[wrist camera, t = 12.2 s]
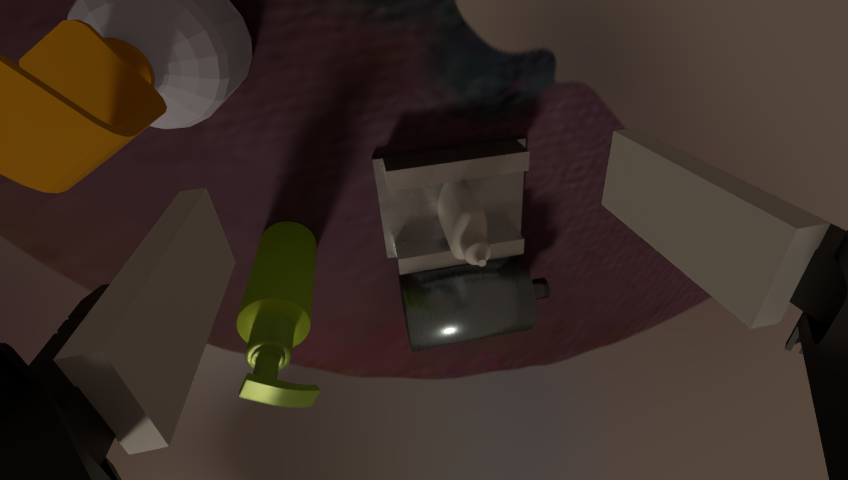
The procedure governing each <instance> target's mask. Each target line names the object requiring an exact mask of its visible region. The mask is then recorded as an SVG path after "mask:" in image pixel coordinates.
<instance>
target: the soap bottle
mask: <svg viewBox="0 0 848 480" xmlns="http://www.w3.org/2000/svg"><path fill="white" fill-rule="evenodd" d="M252 58H253V57H252V44H251V36H250V34H249V31H248V29H247V27H246V24H245V22H244V19H243V17H242V15H241V14H240V13H239V12H238V10H237V9H236V8H235V7H234V6H233V4H232V3H231V2H230V1H229V0H76V1H75V3H74V4H73V6H72V7H71V9H70V11H69V14H68V20H63V21H62V22H61V23H60V24H59V25H58V26H56V27H55V28H54V29H53V30H52V31H51V32H50V33H49V34H48V35H46V36H45V37H44V38H43V39H42V40H41V41H40V42H39V43H38V44H36V45H35V46H34V47H33V48H32V49H31V50H30V51H29V52H28V53H26V54H25V55H24V56H23V57H22V58H21V59H20V60H19V66H18V65H16V64H15V63H13V62H12V61H10V60H9V59H7V58H6V57H4V56H3V55H0V174H2V175H4V176H6V177H8V178H10V179H12V180H14V181H16V182H18V183H20V184H22V185H24V186H27V187H30V188H33V189H36V190H39V191H42V192H48V193H60V192H63V191H66V190H68V189H70V188H71V187H72V186H73V185H75V184H76V183H77V182H79V181H80V180H81V179H83V178H84V177H85V176H86V175H88V174H89V173H90V172H92V171H93V170H94V169H96V168H97V167H98V166H99V165H101V164H102V163H103V162H105V161H106V160H107V159H108V158H110V157H111V156H112V155H113V154H115V153H116V152H117V151H118V150H120V149H121V148H122V147H123V146H125V145H126V144H127V143H128V142H130V141H131V140H132V139H133V138H135V137H136V136H137V135H138V134H140V133H141V132H142V131H143V130H144V129H146V128H147V127H148V126H153V127H157V128H162V129H172V128H183V127H190V126H192V125H194V124H196V123H199V122H201V121H203V120H205V119H207V118H209V117H210V116H211V115H212V114H213V113H214V112H215V111H216V110H217V109H218V108H219V107H220V105H221V104H222V103H223V102H224V101H225V100H226V99H227V98H228V97H229V96H230V95H231V94H232V93H233V92H234V91H235V90H236V89H237V87H238V86H239V85H240V84H241V83H242V81H243V80H244V79H245V78H246V77H247V75H248V72H249V68H250V65H251V61H252Z"/></svg>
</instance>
